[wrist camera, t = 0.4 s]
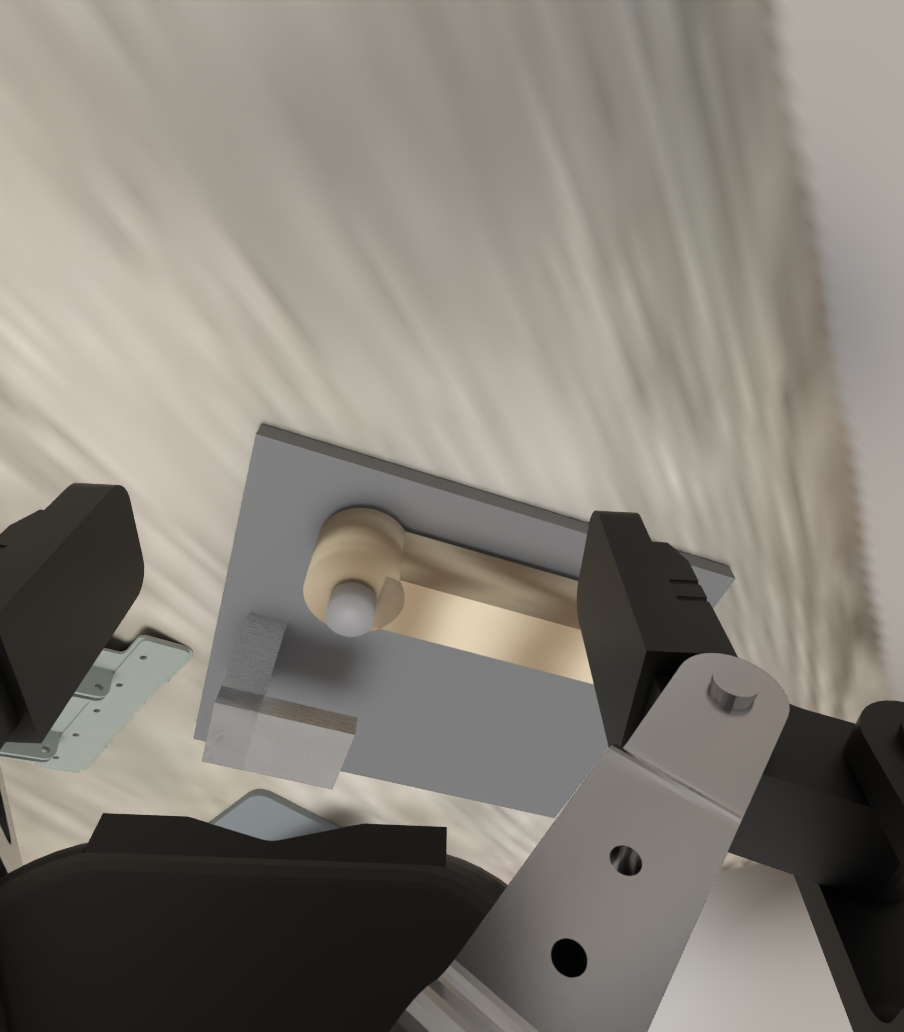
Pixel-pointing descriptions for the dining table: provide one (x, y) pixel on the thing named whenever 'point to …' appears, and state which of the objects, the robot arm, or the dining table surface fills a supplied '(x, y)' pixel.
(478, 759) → the base plate
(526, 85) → the dining table surface
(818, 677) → the dining table surface
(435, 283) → the dining table surface
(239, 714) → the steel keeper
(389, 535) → the brass latch lever
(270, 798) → the shower valve
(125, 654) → the metal bracket
